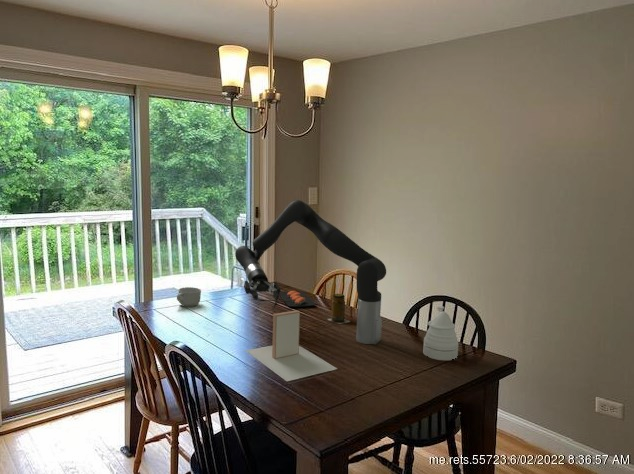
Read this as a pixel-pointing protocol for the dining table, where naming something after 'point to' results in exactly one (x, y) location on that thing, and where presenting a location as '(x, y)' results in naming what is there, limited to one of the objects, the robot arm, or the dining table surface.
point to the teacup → (189, 296)
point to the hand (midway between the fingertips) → (267, 298)
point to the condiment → (338, 309)
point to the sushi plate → (294, 299)
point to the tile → (285, 334)
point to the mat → (292, 363)
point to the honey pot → (441, 338)
